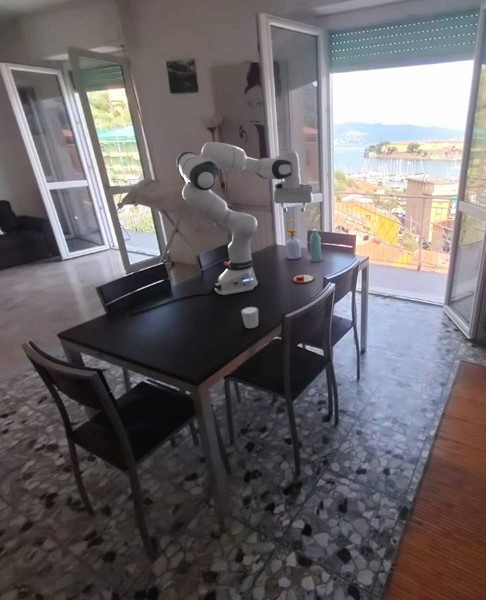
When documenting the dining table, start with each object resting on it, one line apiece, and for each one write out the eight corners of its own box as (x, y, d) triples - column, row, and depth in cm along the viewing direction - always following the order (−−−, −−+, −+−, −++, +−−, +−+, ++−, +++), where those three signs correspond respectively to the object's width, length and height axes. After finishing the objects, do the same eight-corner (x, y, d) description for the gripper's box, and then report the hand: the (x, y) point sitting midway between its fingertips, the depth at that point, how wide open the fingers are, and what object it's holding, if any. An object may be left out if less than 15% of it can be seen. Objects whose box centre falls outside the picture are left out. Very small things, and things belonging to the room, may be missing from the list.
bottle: (314, 262, 222) (312, 231, 213) (309, 259, 227) (307, 229, 218) (323, 260, 225) (321, 229, 217) (317, 257, 230) (316, 227, 222)
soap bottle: (300, 259, 228) (297, 221, 218) (286, 259, 228) (282, 221, 218) (301, 254, 236) (299, 217, 226) (288, 255, 237) (285, 218, 226)
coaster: (299, 285, 188) (299, 283, 188) (289, 279, 197) (289, 277, 196) (317, 280, 194) (317, 278, 194) (307, 274, 202) (307, 273, 202)
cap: (299, 277, 197) (299, 274, 196) (305, 278, 194) (305, 275, 194) (294, 279, 193) (294, 276, 193) (300, 281, 191) (300, 278, 191)
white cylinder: (253, 319, 154) (250, 305, 151) (263, 324, 150) (261, 309, 147) (240, 325, 149) (237, 311, 146) (250, 330, 145) (248, 315, 142)
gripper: (313, 183, 184) (314, 210, 190) (274, 183, 186) (277, 210, 192) (311, 184, 178) (312, 212, 184) (271, 185, 180) (274, 212, 186)
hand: (294, 211), depth 188 cm, fingers open, 8 cm apart
